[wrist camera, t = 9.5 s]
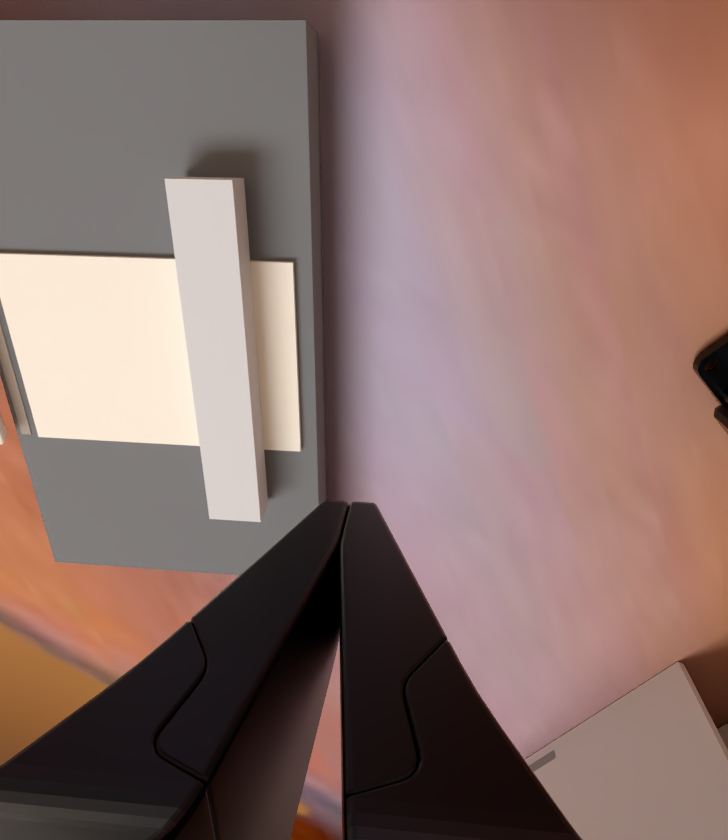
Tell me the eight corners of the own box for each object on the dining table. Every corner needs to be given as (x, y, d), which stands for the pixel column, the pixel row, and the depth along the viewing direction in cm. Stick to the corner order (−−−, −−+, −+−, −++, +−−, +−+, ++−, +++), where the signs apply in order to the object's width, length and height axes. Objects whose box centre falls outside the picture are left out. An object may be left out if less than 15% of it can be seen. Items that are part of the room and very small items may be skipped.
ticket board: (317, 33, 17) (295, 8, 14) (327, 550, 26) (315, 604, 23) (-52, 32, 18) (-148, 9, 15) (79, 534, 27) (36, 583, 24)
